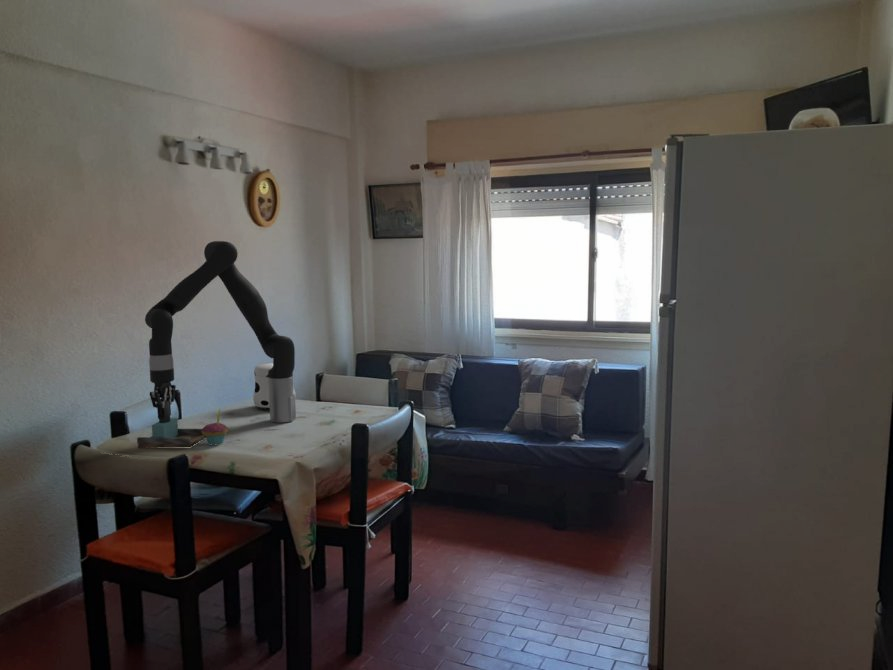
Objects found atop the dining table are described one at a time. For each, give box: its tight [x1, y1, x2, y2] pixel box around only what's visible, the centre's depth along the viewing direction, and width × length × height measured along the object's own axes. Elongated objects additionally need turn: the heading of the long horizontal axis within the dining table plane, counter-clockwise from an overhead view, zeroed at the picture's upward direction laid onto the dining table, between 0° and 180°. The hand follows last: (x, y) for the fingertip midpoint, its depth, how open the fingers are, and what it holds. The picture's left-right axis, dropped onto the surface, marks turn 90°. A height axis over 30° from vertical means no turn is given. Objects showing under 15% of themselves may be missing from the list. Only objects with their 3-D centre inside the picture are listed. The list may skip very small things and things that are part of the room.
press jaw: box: [151, 400, 179, 438], centre depth 225 cm, size 4×10×13 cm, turn 177°
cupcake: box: [201, 409, 229, 446], centre depth 225 cm, size 9×8×12 cm
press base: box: [136, 428, 206, 449], centre depth 226 cm, size 18×13×4 cm
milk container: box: [252, 362, 296, 411], centre depth 279 cm, size 17×17×18 cm
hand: (164, 417), depth 225 cm, fingers closed on press jaw, 3 cm apart
